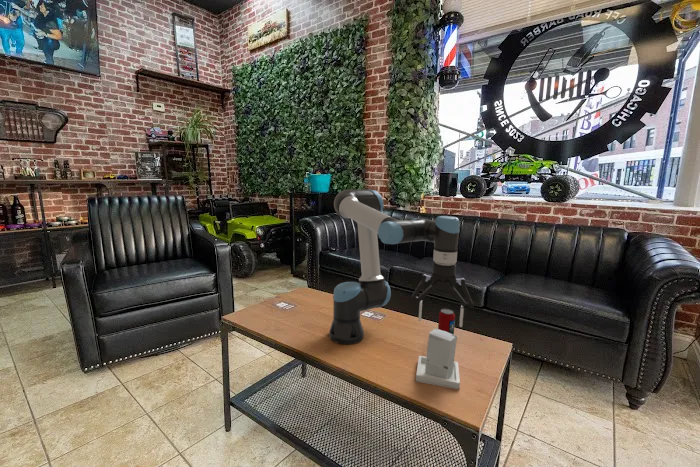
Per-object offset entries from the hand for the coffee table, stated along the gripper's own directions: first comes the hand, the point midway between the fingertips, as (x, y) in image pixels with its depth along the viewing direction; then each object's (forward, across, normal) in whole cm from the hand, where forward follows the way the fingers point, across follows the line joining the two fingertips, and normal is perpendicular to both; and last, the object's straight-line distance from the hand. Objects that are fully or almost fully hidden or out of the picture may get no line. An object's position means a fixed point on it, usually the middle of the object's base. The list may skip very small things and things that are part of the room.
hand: (439, 322), depth 107 cm
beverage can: (+20, +4, +30) cm, 36 cm away
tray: (+19, 0, 0) cm, 19 cm away
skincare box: (+19, +1, 0) cm, 19 cm away
